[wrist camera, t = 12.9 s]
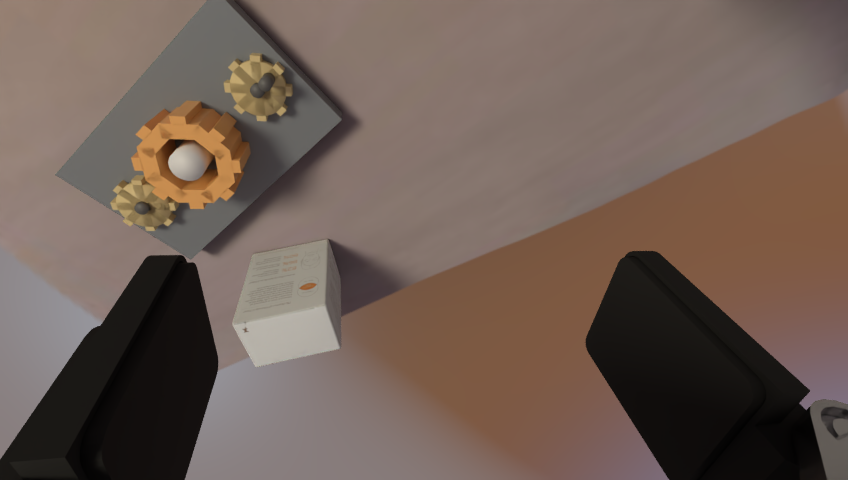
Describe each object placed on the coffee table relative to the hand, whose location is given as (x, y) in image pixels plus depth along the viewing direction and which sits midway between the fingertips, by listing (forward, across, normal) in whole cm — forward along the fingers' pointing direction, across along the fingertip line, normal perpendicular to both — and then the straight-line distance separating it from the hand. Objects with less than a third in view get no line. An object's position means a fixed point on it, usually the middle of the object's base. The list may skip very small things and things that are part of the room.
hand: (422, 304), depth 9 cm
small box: (+31, +6, +21) cm, 38 cm away
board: (+30, +13, +7) cm, 34 cm away
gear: (+28, +13, +7) cm, 32 cm away
